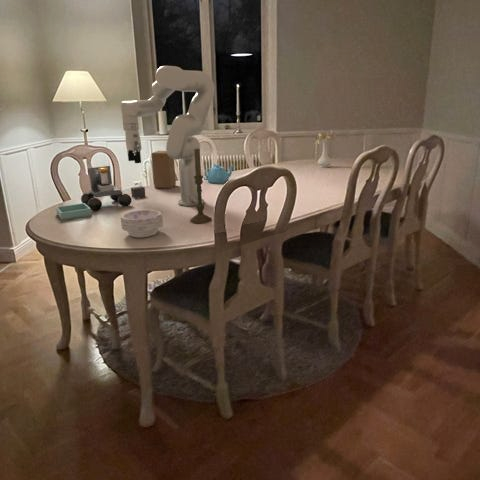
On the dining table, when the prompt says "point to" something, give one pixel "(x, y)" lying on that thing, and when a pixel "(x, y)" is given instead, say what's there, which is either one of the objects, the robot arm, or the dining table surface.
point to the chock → (138, 191)
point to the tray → (73, 211)
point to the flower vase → (324, 147)
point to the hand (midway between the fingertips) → (134, 161)
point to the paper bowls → (142, 223)
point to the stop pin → (104, 176)
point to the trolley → (102, 190)
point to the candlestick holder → (199, 193)
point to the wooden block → (163, 170)
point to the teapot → (218, 174)
